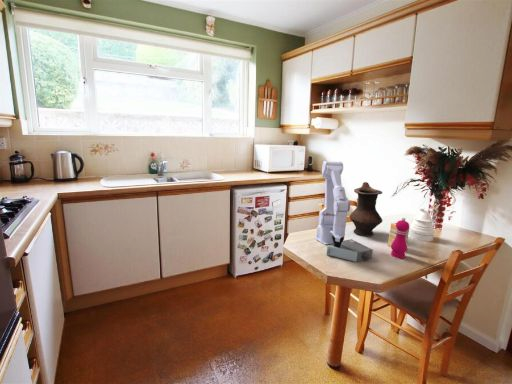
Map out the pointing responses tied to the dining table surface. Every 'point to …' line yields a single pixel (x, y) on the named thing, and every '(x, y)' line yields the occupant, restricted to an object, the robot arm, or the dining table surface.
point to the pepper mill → (400, 239)
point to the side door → (342, 253)
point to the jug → (366, 210)
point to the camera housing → (357, 249)
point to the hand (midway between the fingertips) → (336, 250)
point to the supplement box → (394, 234)
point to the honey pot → (422, 227)
